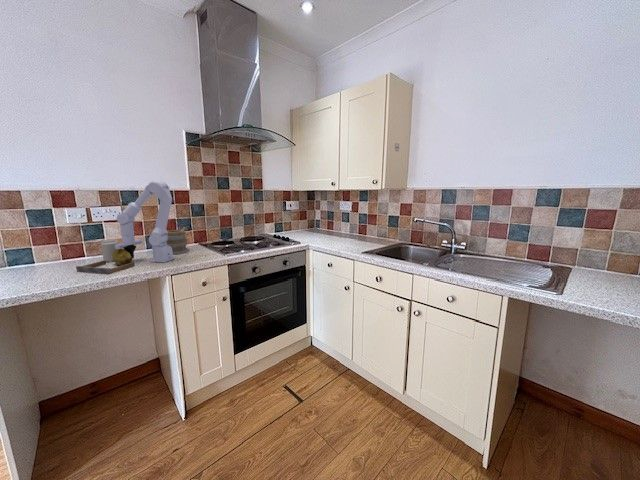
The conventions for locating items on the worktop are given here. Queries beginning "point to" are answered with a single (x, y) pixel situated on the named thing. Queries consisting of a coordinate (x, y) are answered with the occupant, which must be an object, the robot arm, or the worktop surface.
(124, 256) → the olive green oval lump
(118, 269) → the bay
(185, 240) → the tankard
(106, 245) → the can
